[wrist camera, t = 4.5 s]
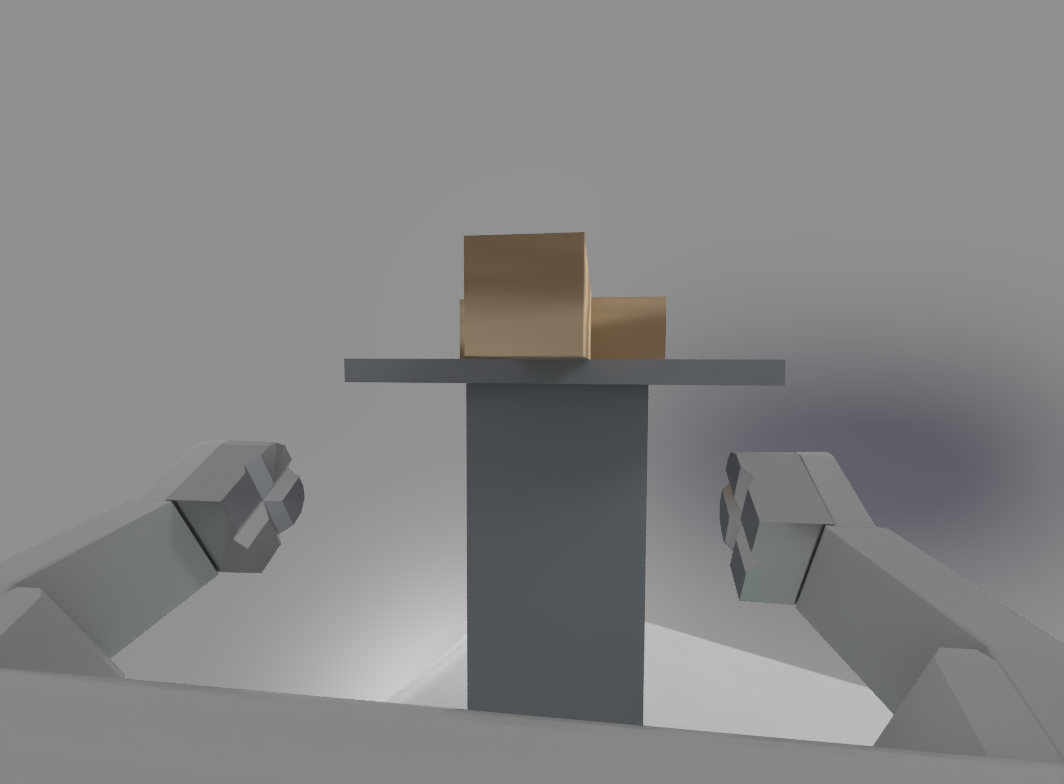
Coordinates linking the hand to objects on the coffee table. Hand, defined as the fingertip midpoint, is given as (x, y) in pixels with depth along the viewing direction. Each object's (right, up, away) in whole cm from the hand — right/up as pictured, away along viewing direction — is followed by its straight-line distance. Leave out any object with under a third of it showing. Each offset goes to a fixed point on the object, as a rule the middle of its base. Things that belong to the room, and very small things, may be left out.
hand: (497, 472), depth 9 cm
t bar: (+1, +3, +11) cm, 11 cm away
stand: (+2, -23, +18) cm, 29 cm away
